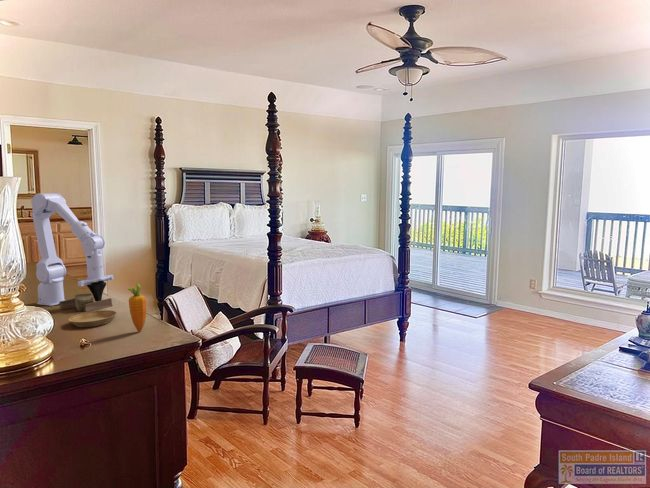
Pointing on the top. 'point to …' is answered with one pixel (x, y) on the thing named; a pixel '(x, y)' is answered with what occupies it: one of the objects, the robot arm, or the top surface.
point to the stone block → (83, 301)
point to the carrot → (137, 307)
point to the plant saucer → (92, 318)
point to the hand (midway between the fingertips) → (98, 301)
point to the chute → (87, 307)
